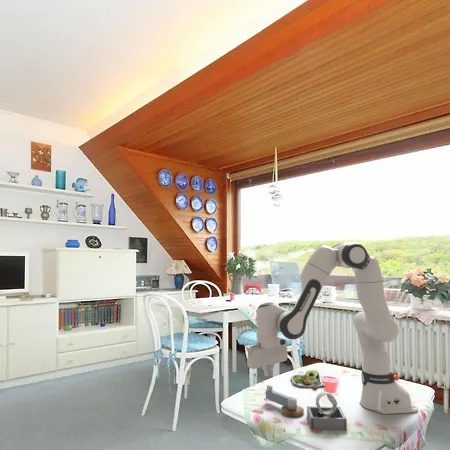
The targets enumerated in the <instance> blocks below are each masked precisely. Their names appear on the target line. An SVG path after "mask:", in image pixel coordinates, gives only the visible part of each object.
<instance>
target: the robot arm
mask: <svg viewBox="0 0 450 450" xmlns="http://www.w3.org/2000/svg"><path fill="white" fill-rule="evenodd" d="M336 267H338V268H339V267H340V268H345V269H349V268H350V269H352V270H353V272H354V276H355V285H356V292H357V293H356V294H357V300H358V302H359V304H360V306H361V308H362V310H363V311H359V312H357V313H356V314H355V315H354V317H353V319H352V320H353V323H352V324H353V326H354V328H355V330H356V333H357V337H358V340H359V345H360V350H361V359H362V369H361V383H362V387H361V389H362V390H361V397H360V400H359V403H360V404H359V405H360V406H361V407H363V408H366V409H368V410H371V411H374V412H378V413H380V414H382V415H390V414H392V415H394V414H409V413H418V406H417V405H416V403H414V402H413V401H412V400H411V396H410V394H409V392H408V391H407V390H406V389H405V388H404V387H403V386H402V385H400V384H399V382H398V381H399V380H400V377H399V376H398V375H397V374H395V373H393V372H392V371H391V365H390V364H391V363H390V361H391V360H390V352H389V350H388V348H387V346H386V344H385V343H391V342H393V341H395V340H396V339H397V337H398V335H399V325H398V324H397V322H396V321H395V320H394V317H392V314H391V312H390V309H389V307H388V306H389V305H388V303H387V301H386V300H387V299H386V297H385V290H384V283H383V276H382V275H383V274H382V271H381V267H380V264H379V261H378V259H377V258H376V257H374V256H371V255H370V254H369V253H368V251H367V250H366V248H365V247H364V246H363V245H362V244H360V243H358V242H346V241H345V242H343V243H338V244H335V245H333V246H332V247H330V246H328V245H321V246H318V247H317V249H315V251H313V253H312V254H311V255H310V256H309V258H308V260H307V261H306V263H305V264H304V266H303V268H302V271H301V274H300V282H301V286H302V287H301V288H302V290H301V293H300V296H299V298H298V299H297V302H296V303H295V305H294V307H293V309H292V310H291V309H287V308H284V307H281V306H279V305H277V304H276V303H275V302H264V303H261V304H260V305H258V307H257V309H256V315H255V317H256V321H255V323H256V328H257V329H256V330H257V331H256V344H251V345H250V346H249V347H248V349H247V352H248V353H247V358H246V359H247V360H246V361H247V362H246V364H247V367H248V368H249V369H252V370H256V369H259V368H262V371H263V373H264V374H263V375H264V377H269V376H273V370H274V368H275V364H279V363H282V362H286V361H288V346H287V343H288V342H287V341H288V340H287V339H289V340H297V339H300V338H301V337H302V336H303V335H304V334H305V331H306V328H307V327H306V326H307V320H308V317H309V315H310V313H311V311H312V309H313V307H314V305H315V304H316V301H317V299H318V298H319V297H318V296H319V295H320V293H321V291H322V290H323V289H322V288H323V287H325V285H326V284H325V283H326V282H327V281H328V279H329V277H330V275H331V274H332V272H333V270H335V268H336ZM278 333H281V335H283V337H285V338H286V339H285V338H282V337H280V336H278Z"/></svg>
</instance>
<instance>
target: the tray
mask: <svg viewBox="0 0 450 450" xmlns="http://www.w3.org/2000/svg"><path fill="white" fill-rule="evenodd" d="M320 407H321V409H322V410H323V411H328V410H329V411H330V410H331V409H332V407H333V406H320ZM318 411H319V409H318V408H317V406H309V405H308V406H306V416H307V421H308V424H309V426H310V429H311V430H321V431H323V430H325V431H348V422H347V421H348V420H347V417H346V416H345V413H344V412H343V410H342V408H341V407H339V406H337V408H336V410H335V411H334V413H332V414H333V415H334V416H335V418H328V417H318Z"/></svg>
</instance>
